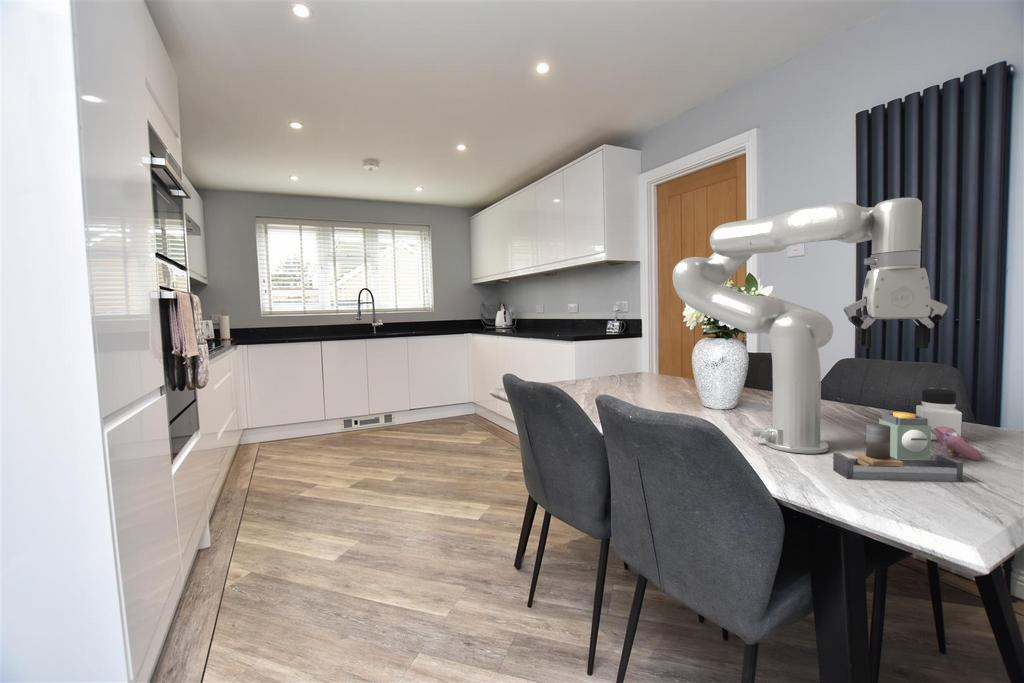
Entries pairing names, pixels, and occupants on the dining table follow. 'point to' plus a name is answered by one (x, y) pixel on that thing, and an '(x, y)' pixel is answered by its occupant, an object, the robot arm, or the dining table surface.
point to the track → (901, 469)
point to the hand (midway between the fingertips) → (892, 347)
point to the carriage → (877, 447)
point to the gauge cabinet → (908, 436)
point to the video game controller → (955, 443)
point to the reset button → (904, 415)
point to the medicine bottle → (940, 409)
